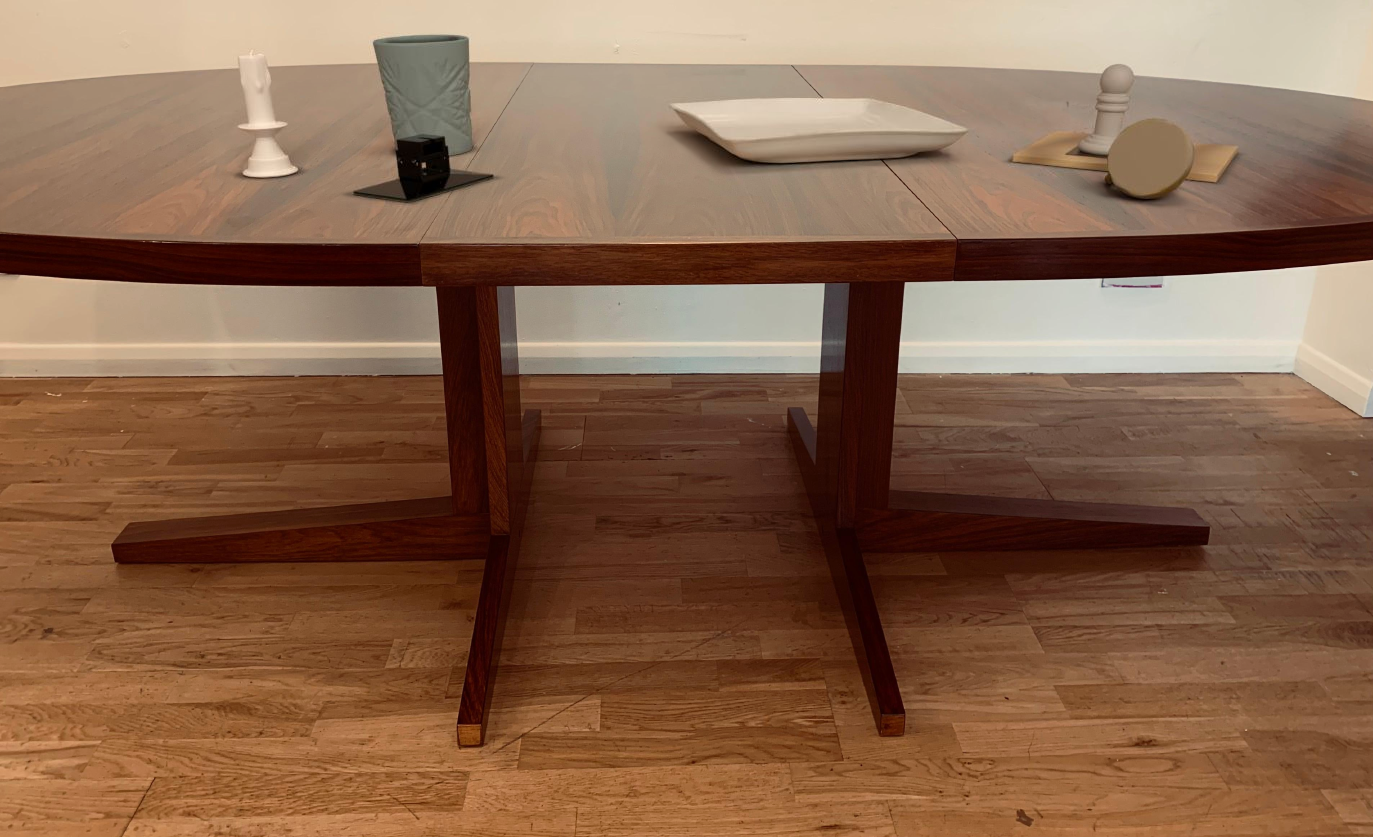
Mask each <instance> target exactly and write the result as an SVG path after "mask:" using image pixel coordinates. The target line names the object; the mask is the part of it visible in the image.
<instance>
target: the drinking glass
mask: <svg viewBox="0 0 1373 837" xmlns="http://www.w3.org/2000/svg"><path fill="white" fill-rule="evenodd" d="M372 46H373V49H374V54H375V58H376V62H377V65H378V71H379V74H380V81H381V83H382V86H383V90H384V98H385V104H386V109H387V112H388V115H389V116H390V117H389V118H390V124H391V132H392V135H393V140H394V146H395V151H396V150H398V148H397V139H402V138H406V137H411V136H415V135H420V134H427V135H437V136H445V143H446V145H447V146H448V152H449V157H450V156H454V155H455V156H456V155H461V154H464V153H468V152H470V151H472V150H473V146H474V145H473V143H474V142H473V126H472V119H471V112H472V103H471V102H472V101H471V99H472V97H471V89H470V87H469V85H470V74H471V73H470V72H471V70H470V38H469V37H468V36H465V35H460V34H415V35H414V34H413V35H401V36H400V35H399V36H390V37H383V38H377V39H374V40H373V41H372Z"/></svg>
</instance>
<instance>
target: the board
mask: <svg viewBox="0 0 1373 837" xmlns="http://www.w3.org/2000/svg"><path fill="white" fill-rule="evenodd" d="M1091 134H1092V133H1086V132H1075V131H1064V130H1054V131H1052V132H1050V133H1049V134H1047V135H1045V136H1044V137H1042V138H1040V139H1038V140H1036V141H1034V142H1033V143H1031V144H1029V145H1027V146H1025V147H1024V148H1022V149H1020V150H1018V151H1017V152H1015V153H1014V154H1012V159H1011V160H1012V161H1011V162H1013V163H1021V164H1029V165H1042V166H1051V167H1061V168H1069V169H1078V170H1079V169H1080V170H1088V171H1097V172H1107V173H1109V171H1108V164H1107V160H1108V155H1095V154H1089V153H1085V152H1082V151H1080V150H1079V149H1078V144H1079V142H1080V141H1081V140H1084V139H1085V138H1086V137H1087V136H1090V135H1091ZM1192 143H1193V146H1194V161H1193V165H1192V168H1191V170H1190V173H1189V175H1188V176H1187V177H1186V179H1185V180H1188V181H1195V182H1196V181H1197V182H1206V183H1217V182H1218V180H1219V179H1220V177H1221V176H1222V174H1223V173H1224V172H1225V170H1226V169H1227V168H1228V166H1229V165H1230V163H1231V161H1233V159H1234V158H1235V156H1236V154H1237V152H1238V149H1239V146H1237V145H1226V144H1216V143H1203V142H1193V141H1192Z"/></svg>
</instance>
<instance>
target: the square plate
mask: <svg viewBox="0 0 1373 837" xmlns="http://www.w3.org/2000/svg"><path fill="white" fill-rule="evenodd" d="M668 108H669V109H671V110H673V111H674V112H675V114H676V115H677V116H678V117H679V118H680V120H681V121H682V122H683V123H684V124H686V125H687V126H689V127H690V128H691V129H693V130H694V131H696V132H698V133H699V134H701V135H703V136H705V137H707V138H708V139H709V140H710V141H711V142H713V143H715V145H718V146H720V147H721V148H723V149H724V150H726V151H727V152H728V153H730V154H732V155H734V156H736V157H738V158H740V159H741V160H745V161H751V162H756V163H757V162H758V163H769V164H770V163H773V164H787V163H789V164H790V163H809V162H825V161H826V162H827V161H828V162H829V161H850V160H851V161H853V160H854V161H855V160H875V159H897V158H904V157H905V158H906V157H911V156H914V155H916V154H917V153H922V152H929V151H932V152H933V151H937V150H942V149H945V148H947V147H950V146H952V145H953V144H954V143H956V142H958V141H959V140H961V138H962V137H963V136H965V135H966V134H967V133H969V130H970V129H969V128H968V127H964V126H961V125H959V124H955V123H953V122H950V121H948V120H945V119H943V118H940V117H937V116H935V115H931V114H929V113H926V112H923V111H920V110H917V109H913V108H910V107H907V106H904V105H900V104H896V103H891V102H889V101H888V102H887V101H885V100H879V99H875V98H869V97H868V98H867V97H861V98H856V97H855V98H838V97H837V98H835V97H833V98H828V97H827V98H826V97H825V98H824V97H759V98H757V97H756V98H739V99H736V98H735V99H721V100H709V101H708V100H706V101H694V102H675V103H669V105H668Z"/></svg>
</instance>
